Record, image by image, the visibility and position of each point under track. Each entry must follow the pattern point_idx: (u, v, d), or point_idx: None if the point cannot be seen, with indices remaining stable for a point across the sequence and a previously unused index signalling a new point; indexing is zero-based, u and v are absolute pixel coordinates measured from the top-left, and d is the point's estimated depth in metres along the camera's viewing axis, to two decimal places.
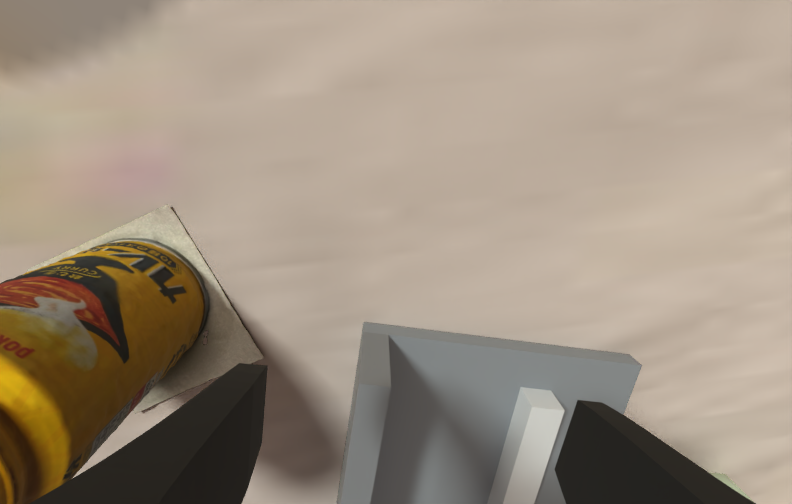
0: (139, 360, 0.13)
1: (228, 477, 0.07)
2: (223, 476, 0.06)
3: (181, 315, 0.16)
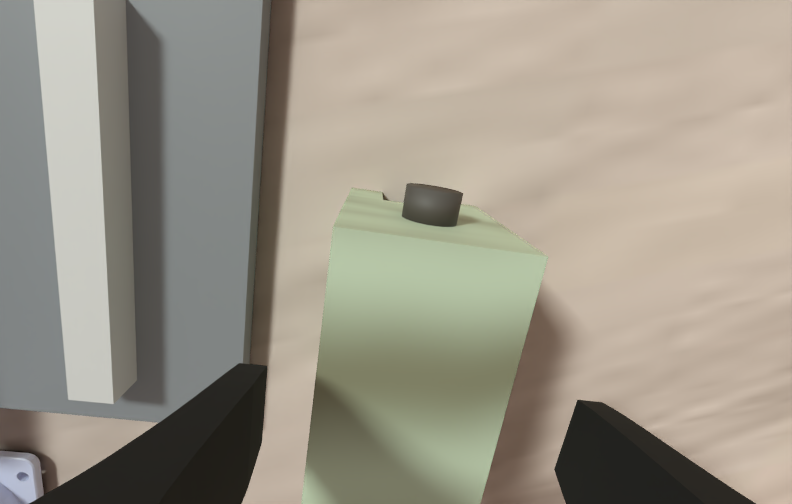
0: None
1: (228, 477, 0.07)
2: (223, 476, 0.06)
3: None
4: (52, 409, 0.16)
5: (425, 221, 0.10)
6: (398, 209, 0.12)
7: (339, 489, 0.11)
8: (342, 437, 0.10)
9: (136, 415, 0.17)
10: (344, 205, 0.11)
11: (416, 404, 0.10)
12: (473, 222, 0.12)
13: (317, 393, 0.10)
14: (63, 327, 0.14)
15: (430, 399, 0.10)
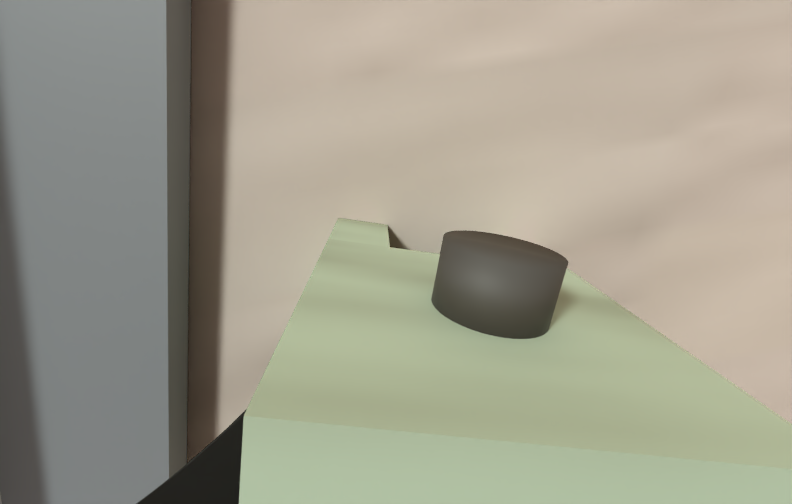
0: None
1: None
2: None
3: None
4: None
5: (490, 328, 0.05)
6: (421, 277, 0.06)
7: None
8: None
9: None
10: (311, 278, 0.05)
11: None
12: (568, 303, 0.06)
13: None
14: None
15: None
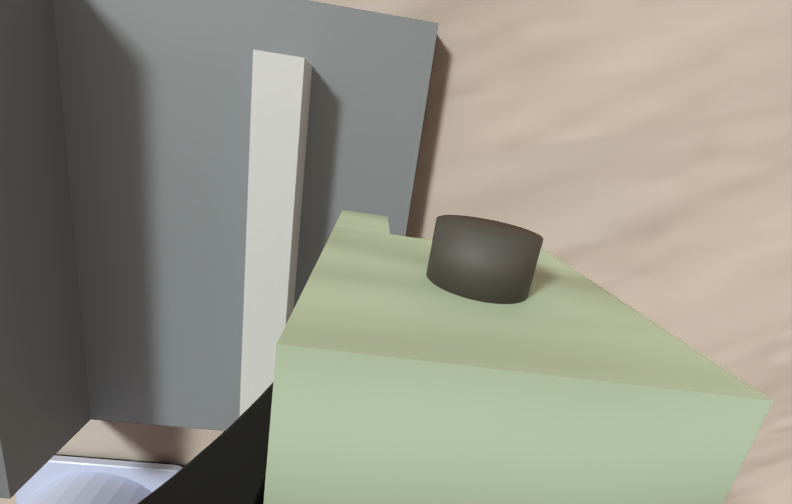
0: None
1: None
2: None
3: None
4: (208, 426, 0.18)
5: (476, 294, 0.05)
6: (417, 257, 0.07)
7: None
8: None
9: None
10: (322, 256, 0.06)
11: None
12: (548, 281, 0.07)
13: None
14: (242, 356, 0.15)
15: None
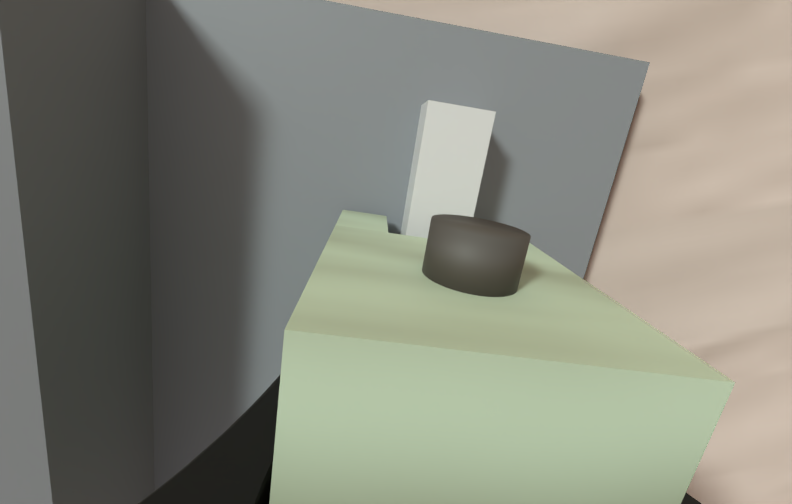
0: None
1: None
2: None
3: None
4: None
5: (468, 288, 0.06)
6: (414, 254, 0.07)
7: None
8: None
9: None
10: (323, 252, 0.07)
11: None
12: (537, 276, 0.07)
13: None
14: None
15: None
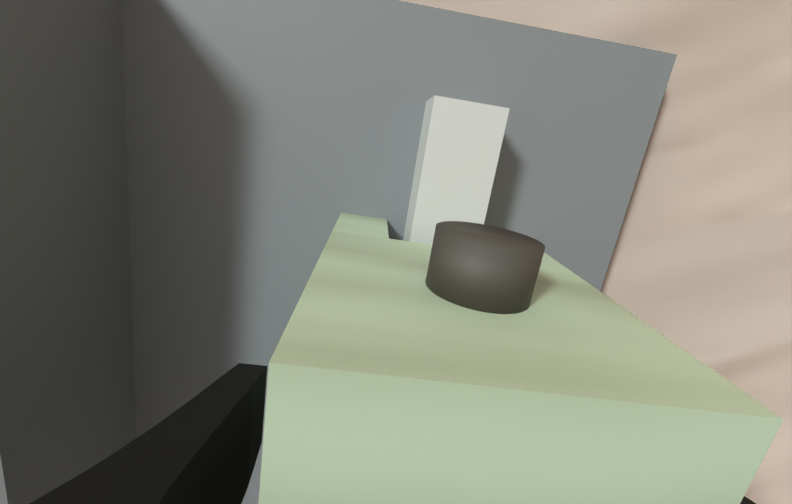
0: None
1: (228, 477, 0.07)
2: (223, 476, 0.06)
3: None
4: None
5: (476, 304, 0.05)
6: (416, 263, 0.07)
7: None
8: None
9: None
10: (318, 263, 0.06)
11: None
12: (550, 287, 0.07)
13: None
14: None
15: None
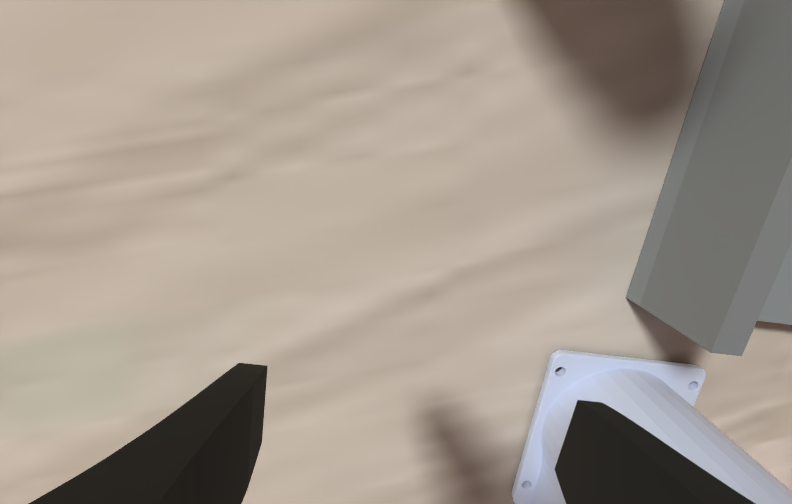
0: None
1: (228, 477, 0.07)
2: (223, 476, 0.06)
3: None
4: (767, 319, 0.18)
5: None
6: None
7: None
8: None
9: None
10: None
11: None
12: None
13: None
14: None
15: None
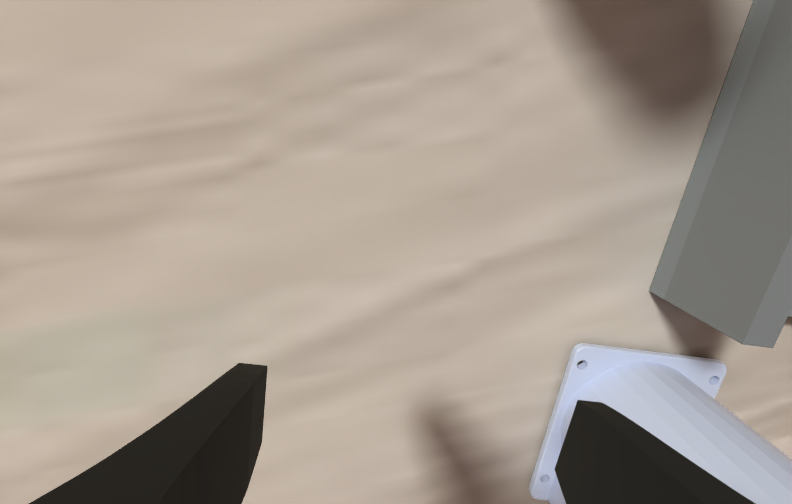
0: None
1: (228, 477, 0.07)
2: (223, 476, 0.06)
3: None
4: (791, 313, 0.18)
5: None
6: None
7: None
8: None
9: None
10: None
11: None
12: None
13: None
14: None
15: None
